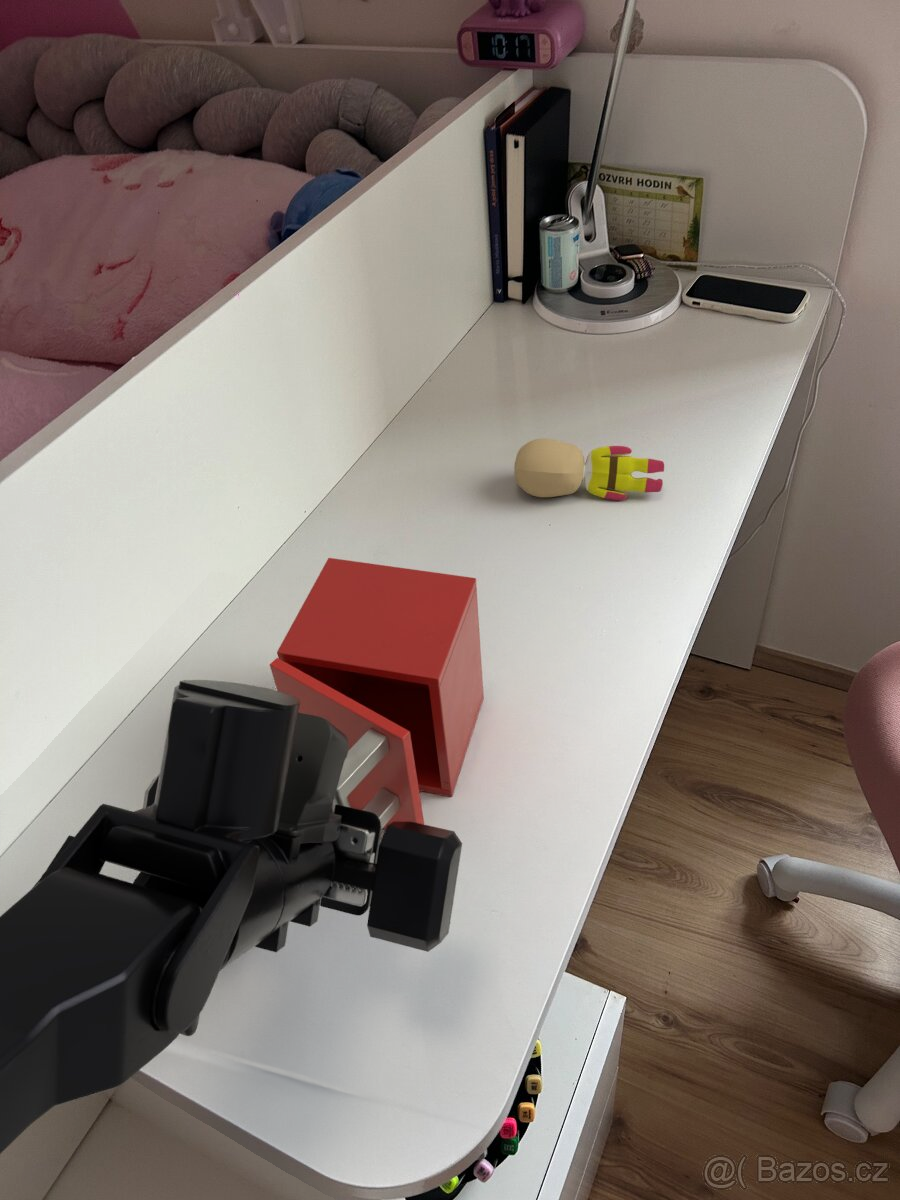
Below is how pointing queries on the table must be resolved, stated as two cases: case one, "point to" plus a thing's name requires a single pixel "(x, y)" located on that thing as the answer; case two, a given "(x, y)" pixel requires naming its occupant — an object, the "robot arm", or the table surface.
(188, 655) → the table surface
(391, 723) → the red cabinet door
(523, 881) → the table surface
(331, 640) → the cabinet
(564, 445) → the toy
